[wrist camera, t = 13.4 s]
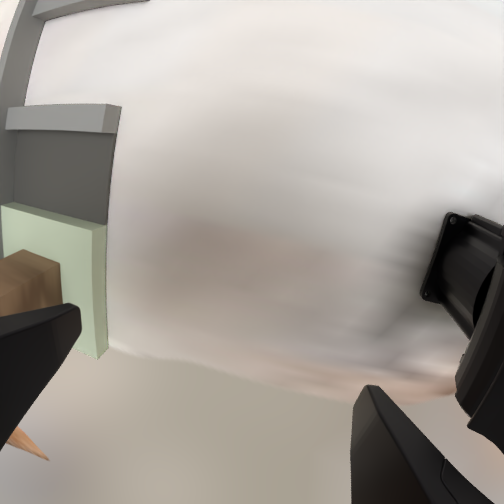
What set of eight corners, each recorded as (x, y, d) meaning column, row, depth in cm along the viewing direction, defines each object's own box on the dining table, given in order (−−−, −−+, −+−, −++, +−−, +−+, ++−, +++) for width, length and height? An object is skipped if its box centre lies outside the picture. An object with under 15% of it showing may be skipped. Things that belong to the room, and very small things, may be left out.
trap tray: (108, 348, 26) (89, 368, 23) (18, 305, 27) (-2, 318, 24) (156, -20, 16) (136, -39, 12) (43, 6, 17) (20, -3, 13)
